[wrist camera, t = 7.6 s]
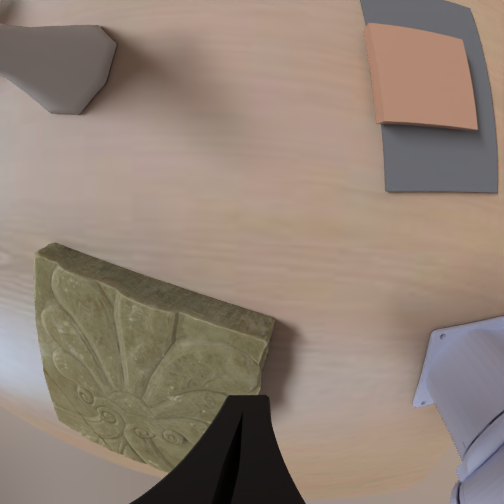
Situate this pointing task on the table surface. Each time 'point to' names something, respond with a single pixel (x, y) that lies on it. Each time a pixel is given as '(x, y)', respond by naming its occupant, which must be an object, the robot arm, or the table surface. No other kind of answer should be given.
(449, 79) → the tile
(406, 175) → the mat
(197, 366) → the decorative tile
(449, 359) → the robot arm
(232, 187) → the table surface
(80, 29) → the flask
